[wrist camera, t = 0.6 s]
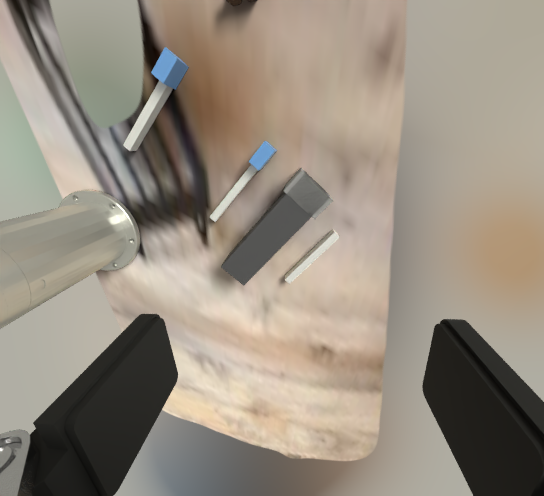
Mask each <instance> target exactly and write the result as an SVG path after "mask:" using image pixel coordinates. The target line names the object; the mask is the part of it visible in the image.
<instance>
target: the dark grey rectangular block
mask: <svg viewBox="0 0 544 496" xmlns="http://www.w3.org/2000/svg"><path fill="white" fill-rule="evenodd" d="M332 201H333V200H332V198H331V197H330V195H329V194H328V193H327V192H326V191H325V190H324V189H323V188H322V187H321V186H320V185H319V184H318V183H317V182H315V181H314V180H313V179H312V178H311V177H310V176H309V175H308V174H307V173H306V172H305V171H304V170H303V169H302V168H300V169H299V170H298V172H297V173H296V174H295V175H294V176H293V177H292V178H291V180H290V181H289V182H288V183H287V184H286V185H285V188H284V193H283V194H282V195H281V196H280V198H279V199H278V200H277V201H276V202H275V203H274V204H273V205H272V207H271V208H270V209H269V210H268V211H267V212H266V213H265V214H264V216H263V217H262V218H261V219H260V220H259V221H258V222H257V223H256V224H255V226H254V227H253V228H252V229H251V230H250V231H249V232H248V233H247V235H246V236H245V237H244V238H243V239H242V240H241V241H240V242H239V244H238V245H237V246H236V247H235V248H234V249H233V250H232V251H231V253H230V254H229V255H228V257H227V258H226V260H225V261H224V263H223V264H222V266H221V268H223V269H224V270H225V271H226V272H228V273H229V274H230V275H231V276H233V277H234V278H235V279H236V280H238V281H239V282H240V283H241V284H243V285H245V284H246V283H247V282H248V281H249V280H250V279H251V278H252V277H253V276H254V275H255V274H256V273H257V272H258V271H259V270H260V269H261V268H262V267H263V266H264V265H265V264H266V262H267V261H268V260H269V259H270V258H271V257H272V256H273V255H274V254H275V253H276V252H277V251H278V250H279V249H280V248H281V247H282V246H283V245H284V244H285V243H286V242H287V241H288V240H289V239H290V238H291V237H292V236H293V235H294V234H295V233H296V232H297V231H298V230H299V229H300V228H301V227H302V226H303V225H304V224H305V223H306V222H307V221H308V220H309V219H310V218H311V217H313V218H314V219H316V217H317V216H318V215H319V214H320V213H321V212H322V211H323V210H324V209H325V208H326V207H327V206H328V205H329V204H330V203H331V202H332Z"/></svg>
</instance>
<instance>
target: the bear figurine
mask: <svg viewBox="0 0 544 496" xmlns="http://www.w3.org/2000/svg"><path fill="white" fill-rule="evenodd" d="M227 1H228V2H229V3H231V5H233V6H235V5H239V4H241V3H242V0H227ZM248 1H249V2H252V1H256V0H248Z"/></svg>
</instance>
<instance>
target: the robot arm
mask: <svg viewBox="0 0 544 496" xmlns="http://www.w3.org/2000/svg"><path fill="white" fill-rule="evenodd" d="M139 247H140V234H139V229H138V226H137V224H136V222H135V219H134V218H133V216H132V215H131V213H130V212H129V211H128V209H127V208H126V207H125V206H124V205H123V204H122V203H121V202H119V201H118V200H117V199H115V198H114V197H112V196H110V195H108V194H106V193H103V192H100V191H96V190H83V191H77V192H74V193H71V194H70V195H68V196H66V197H65V198H64V199H63V200H62V202H61V203H60V205H59V207H58V208H55V209H51V210H47V211H43V212H39V213H35V214H30V215H26V216H22V217H18V218H14V219H9V220H5V221H1V222H0V329H1V328H2V327H4V326H6V325H8V324H9V323H11V322H13V321H14V320H16V319H18V318H19V317H21V316H22V315H24V314H26V313H27V312H29V311H31V310H32V309H34V308H36V307H37V306H39V305H40V304H42V303H44V302H46V301H47V300H49V299H51V298H52V297H54V296H56V295H57V294H59V293H61V292H62V291H64V290H66V289H67V288H69V287H71V286H72V285H74V284H76V283H77V282H79V281H80V280H83V279H84V278H86V277H88V276H89V275H91V274H93V273H94V272H96V271H98V270H106V271H111V270H117V269H120V268H123V267H124V266H126V265H128V264H129V263H130V262H131V261H133V260H134V258H135V257H136V255H137V253H138V251H139ZM177 378H178V372H177V368H176V364H175V360H174V356H173V353H172V349H171V345H170V341H169V337H168V334H167V330H166V326H165V322H164V320H163V319H162V318H160V316H159V315H157V314H141V315H139V316H138V317H137V318H136V319H135V320H134V321H133V322H132V323H131V324H130V325H129V326H128V327H127V328H126V329H125V330H124V331H123V332H122V333H121V335H119V336H118V337H117V338H116V339H115V340H114V341H113V342H112V344H110V345H109V347H108V348H107V349H106V350H105V351H104V352H103V353H102V354H101V355H100V356H99V357H98V358H97V359H96V360H95V361H94V362H93V363H92V364H91V365H90V366H89V367H88V368H87V369H86V370H85V371H84V372H83V373H82V374H81V375H80V376H79V377H78V378H77V379H76V380H75V381H74V382H73V383H72V384H71V385H70V386H69V387H68V388H67V389H66V390H65V391H64V392H63V393H62V394H61V395H60V396H59V397H58V398H57V399H56V400H55V401H54V402H53V403H52V404H51V405H50V406H49V407H48V408H47V409H46V410H45V411H44V413H42V414H41V415H40V416H39V417H38V419H36V421H35V422H34V423H33V424H34V425H35V427H36V429H35V430H34V431H33V432H32V433H31V434H30V435H29V433H28V432H27V431H25V430H13V431H9V432H6V433H3V434H0V496H113V495H114V494H115V493H116V492H117V491H118V489H119V487H120V486H121V484H122V482H123V480H124V478H125V476H126V474H127V473H128V471H129V469H130V467H131V465H132V463H133V461H134V460H135V458H136V456H137V454H138V452H139V451H140V449H141V447H142V445H143V443H144V441H145V439H146V438H147V436H148V434H149V432H150V430H151V428H152V426H153V425H154V423H155V421H156V419H157V417H158V416H159V413H160V412H161V410H162V408H163V406H164V404H165V403H166V401H167V399H168V397H169V395H170V393H171V392H172V390H173V388H174V386H175V384H176V382H177ZM423 393H424V396H425V398H426V400H427V403H428V405H429V407H430V408H431V411H432V413H433V415H434V417H435V418H436V421H437V423H438V425H439V427H440V428H441V431H442V433H443V435H444V437H445V439H446V441H447V443H448V445H449V447H450V449H451V451H452V453H453V455H454V457H455V459H456V461H457V463H458V465H459V467H460V469H461V471H462V473H463V475H464V477H465V479H466V481H467V483H468V486H469V487H470V490H471V491H472V493H473V496H544V402H543V401H542V400H541V399H540V398H539V397H538V396H537V395H536V393H534V392H533V391H532V389H531V388H530V387H529V386H528V385H527V384H526V383H525V382H524V381H523V380H522V379H521V378H520V377H519V376H518V375H517V374H516V373H515V371H513V369H511V367H510V366H509V365H508V364H507V363H506V362H505V361H504V360H503V359H502V358H501V357H500V356H499V355H498V354H497V353H496V352H495V351H494V349H493V348H491V346H490V345H489V344H488V343H487V342H486V341H485V340H484V339H483V338H482V337H481V336H480V335H479V334H478V333H477V332H476V331H475V330H474V329H473V328H472V327H471V325H470V324H469V323H467V322H466V321H465V320H455V319H452V320H451V319H444V320H442V321H441V322H440V324H437V325H436V326H435V328H434V333H433V337H432V342H431V347H430V352H429V356H428V361H427V366H426V371H425V376H424V380H423Z"/></svg>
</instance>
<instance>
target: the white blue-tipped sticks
mask: <svg viewBox="0 0 544 496" xmlns="http://www.w3.org/2000/svg"><path fill="white" fill-rule="evenodd" d="M188 68H189V67H188V66H187V65H186V64H185V63H184V62H183V61H182V60H181V59H180V58H179V57H177V56H176V55H175V54H174V53H172V52H171V51H170V50H168V49H167V48H166V47H165V48H164V50H163V52H162V54H161V56H160V57H159V59H158V61H157V63H156V65H155V67H154V69H153V70H152V72H151V73H152V74H153V75H154V76H155V77H156V78H158V79H159V82H158V84H157V86H156V87H155V89H154V91H153V93H152V95H151V96H150V98H149V100H148V102H147V104H146V105H145V107H144V109H143V111H142V112H141V114H140V116H139V118H138V120H137V121H136V123H135V125H134V127H133V129H132V130H131V132H130V134H129V136H128V138H127V139H126V141H125V143H124V145H123V146H125V147H126V148H127V149H128V150H129V151H137V149H138V148H139V146H140V144H141V143H142V141H143V139H144V137H145V136H146V134H147V132H148V131H149V129H150V127H151V126H152V124H153V122H154V120H155V119H156V117H157V115H158V114H159V112H160V110H161V108H162V107H163V105H164V103H165V102H166V100H167V98H168V97H169V95H170V93H171V91H172V90H173V89H175V90H176V88H177V86H178V85H179V83H180V81H181V80H182V78H183V76H184V75H185V73H186V71H187V69H188ZM276 151H277V150H276V149H275V148H274V147H273V146H272V145H271V144H270V143H268V142H267V141H264V143H263V144H262V145H261V146H260V148H259V149H258V150H257V152H256V153H255V154H254V155H253V157H252V158H251V159H250V160H249V162H250V163H251V165H250V167H249V168H248V169H247V171H246V172H245V173H244V174H243V176H242V177H241V178H240V179H239V181H238V182H237V183H236V184H235V186H234V187H233V188H232V189H231V191H230V192H229V193H228V194H227V196H226V197H225V198H224V200H223V201H222V202H221V203H220V205H219V206H218V207H217V208H216V210H215V211H214V212H213V213H212V215H211V216H210V218H211V219H212V220H213V221H215V222H216V221H217V220H218V219H219V218H220V217H221V215H222V214H223V213H224V212H225V210H226V209H227V208H228V207H229V206H230V204H231V203H232V202H233V201H234V199H235V198H236V197H237V196H238V194H239V193H240V192H241V191H242V190H243V188H244V187H245V186H246V185H247V183H248V182H249V181H250V180H251V178H252V177H253V176H254V175H255V174H256V172H257V171H259V170H261V169H263V167H264V166H265V165H266V164H267V162H268V161H269V160H270V159H271V158H272V156H273V155H274V154H275V153H276ZM338 238H340V237H339V235H338V233H337V232H336V231H334V230H332V231H331V232H330V233H329V234H328V235H326V236H325V237H324V238H323V239H322V240H321V241H320V242H319V243H318V244H317V245H316V246H315V247H314V248H313V249H312V250H311V251H310V252H309V253H308V254H307V255H306V256H305V257H303V258H302V259H301V260H300V261H299V262H298V263H297V264H296V265H295V266H294V267H293V268H292V269H291V270H290V271H289V272H288V273H287V274H286V275H285V281H287V282H288V283H289V284H290V283H291V282H292V281H293V280H294V279H295V278H297V277H298V276H299V275H300V274H301V273H302V272H303V271H304V270H305V269H306V268H307V267H308V266H309V265H310V264H312V263H313V262H314V261H315V260H316V259H317V258H318V257H319V256H320V255H321V254H322V253H323V252H324V251H326V250H327V249H328V248H329V247H330V246H331V245H332V244H333V243H334V242H335V241H336V240H337V239H338Z"/></svg>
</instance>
